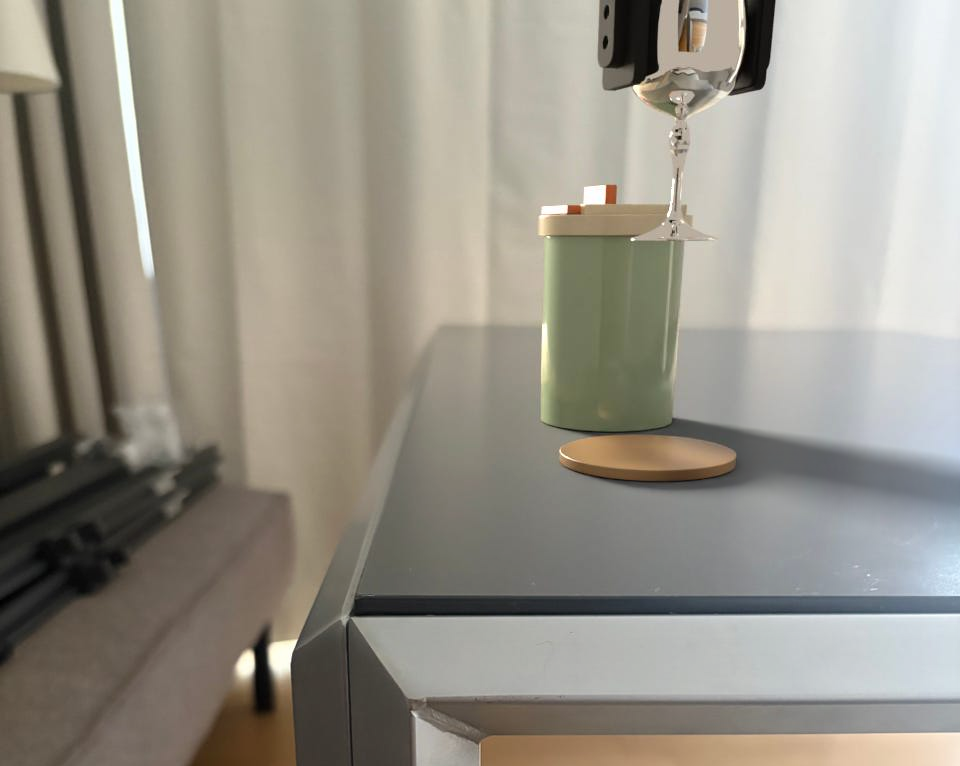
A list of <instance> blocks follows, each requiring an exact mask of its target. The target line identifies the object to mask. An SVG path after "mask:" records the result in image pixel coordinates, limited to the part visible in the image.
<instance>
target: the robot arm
mask: <svg viewBox="0 0 960 766" xmlns="http://www.w3.org/2000/svg"><path fill="white" fill-rule="evenodd" d="M776 1H777V0H747V2H748V21H749V31H748V48H747V54H746V59H745V63H744V67H743V70H742V73H741V76H740V78H739V80H738V82H737V84H736V85H735V87H734V88H733V89H732V91H731V92H730V93H729V94H728V95H727V96H729V97H730V96H731V97H733V96H737V95H742V94H743V95H744V94H747V93H752V92H757V91H761V90H763V88H764V87H765V85H766V82H767V74H768V73H767V72H768V69H769V66H770V63H771V55H772V46H773V33H774V25H775V14H776V13H775V12H776ZM649 14H650V0H599V1H598V26H597V27H598V28H597V29H598V30H597V32H598V33H597V63H598V66H599V67H600V68H602V77H601V86H602V89H603V91H612V92H615V91H620V90H623V89H627V88H631V86H635V85H639V84H641V82H643V81H644V80H645V78H646V73H647V54H648V34H649ZM727 96H726V97H727Z"/></svg>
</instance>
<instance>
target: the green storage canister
mask: <svg viewBox="0 0 960 766" xmlns="http://www.w3.org/2000/svg"><path fill="white" fill-rule="evenodd" d="M580 205H581V215H542V214H541V215H538V217H537V235H538V236H543V259H542V261H543V266H542V307H541V308H542V313H541V314H542V315H541V359H540V360H541V361H540V363H541V365H540V408H539V409H540V412H539V419H540V420H541V422H542V423H544V424H546V425H549V426H552V427H556V428H561V429H566V430H573V431H584V432H597V433H598V432H599V433H625V432H642V431H650V430H657V429H661V428H664V427H667V426H670V425H671V424H672V423H673V419H674V418H673V417H674V403H675V390H676V377H677V365H678V364H677V363H678V347H679V332H680V321H681V305H682V292H683V291H682V290H683V277H684V264H685V250H686V249H685V247H686V241H630V238H632V237H636V236H639V235H642V234H645V233H648V232H650V231H652V230H654V229H655V228H657V227H659V226H660V225H662V224H663V222H664V221H665V220H666V218H667V217H668V214H669V211H670V207H671V204H654V203H653V204H651V203H650V204H648V203H647V204H646V203H644V204H643V203H628V204H627V203H616V204H584V203H581V204H580ZM687 210H688V204H681V211H682V215H683V218H684V220H685V221H686V223H687V224H688V225H689V226H691V227H692V228H694V227H693V226H694V225H693V224H694V215H693V214H687Z"/></svg>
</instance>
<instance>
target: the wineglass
mask: <svg viewBox="0 0 960 766" xmlns="http://www.w3.org/2000/svg"><path fill="white" fill-rule="evenodd" d="M748 31H749V21H748V2H747V0H650V14H649V34H648V54H647V73H646V78H645V80H644V81H643V82H641V84H639V85H635V86H631V87H630V88H631V90H632V92H633V93H634V95H635V97H637V98H638V99H639V100H640V101H641V102H642V103H643V104H644V105H647V106H648V107H649V108H651V109H653V110H655V111H657V112H659V113H662V114H665V115H667V116H670V117H672V118H674V125H673V127H672V129H671V131H670V135H669V140H668V144H669V151H670V155H671V162H672V187H671V188H672V189H671V201H670V205H671V207H670V211H669V214H668V217H667V218H666V220H665V221H664V222H663V224H662V225H660V226H659V227H657V228H655V229H654V230H652V231H650V232H648V233H645V234H642V235H639V236H636V237H632V238H630V241H685V242H696V241H697V242H699V241H700V242H701V241H702V242H703V241H704V242H705V241H706V242H707V241H719V237H718V236H715V235H711V234H707V233H705V232H702V231H699V230H698V229H696V228H694V227H691V226H689V225H688V224H687V223H686V221H685V220H684V218H683V215H682V211H681V205H682V187H683V186H682V184H683V173H684V168H685V163H686V160H687V154H688V152H689V150H690V145H691V131H690V127H689V126H688V124H687V122H688V119H689V118H690V117H691V116H693V115H696V114H699V113H701V112H703V111H706V110H708V109H710V108H712V107H713V106H715V105H716V104H718V103H720V102H721V101H722V100H723V99H725V98H726V97H727V95H728V94H729V93H730V92H731V91H732V89H733V88H734V87H735V85H736V84H737V82H738V80H739V78H740V76H741V73H742V70H743V67H744V63H745V59H746V54H747V48H748Z"/></svg>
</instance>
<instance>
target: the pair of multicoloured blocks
mask: <svg viewBox="0 0 960 766" xmlns="http://www.w3.org/2000/svg"><path fill="white" fill-rule="evenodd" d="M583 190H584V191H583V204H617V195H618V194H617V192H618V185H617V184H599V185H587V186H584V189H583ZM541 215H581V204H564V205H545V206H543V205H542V206H541Z"/></svg>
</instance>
